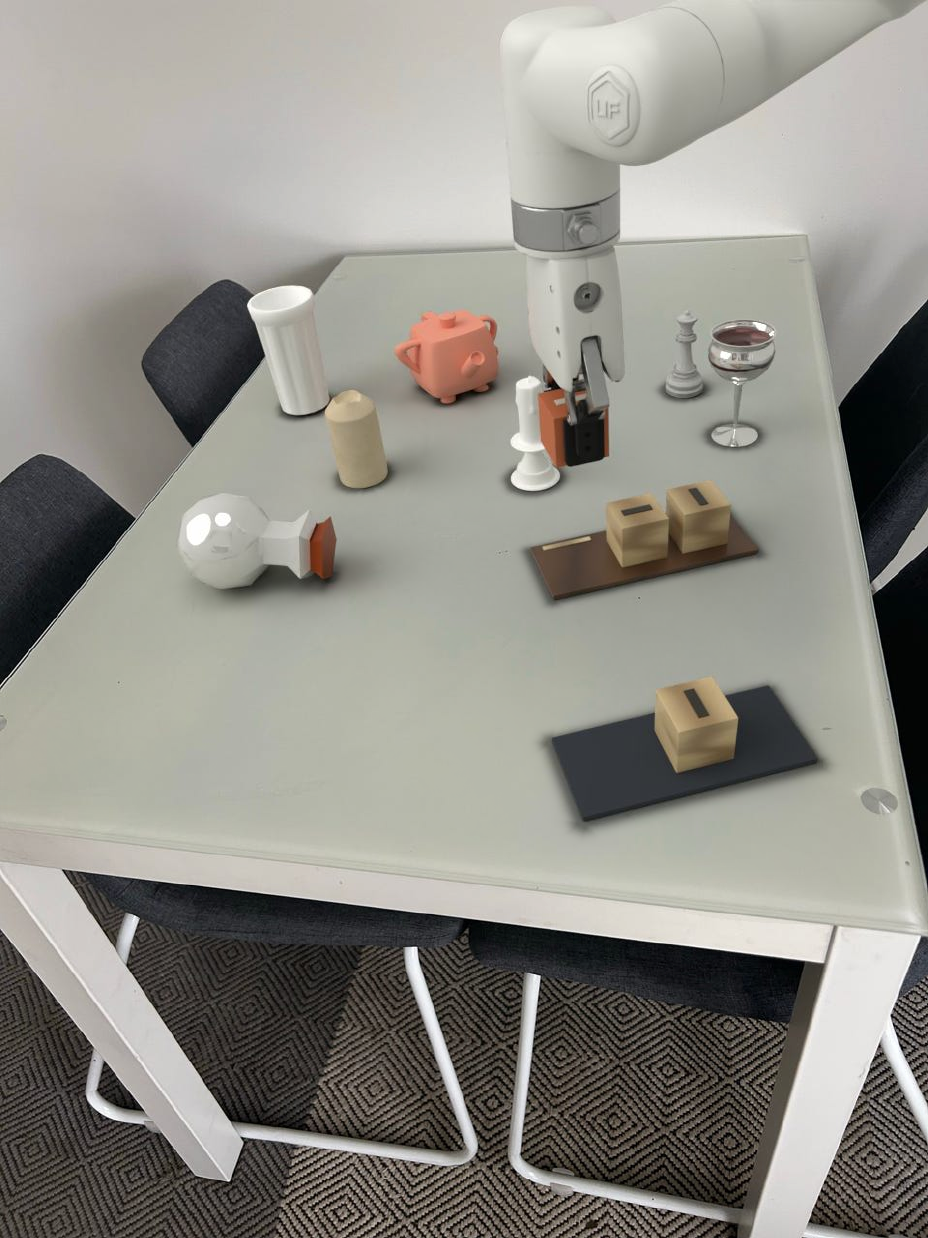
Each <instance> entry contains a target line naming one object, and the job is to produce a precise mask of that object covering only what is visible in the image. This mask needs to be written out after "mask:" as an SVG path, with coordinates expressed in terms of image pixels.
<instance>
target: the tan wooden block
mask: <svg viewBox="0 0 928 1238" xmlns="http://www.w3.org/2000/svg"><path fill="white" fill-rule="evenodd" d="M665 491H666V493H665V494H666V495H665V514H666V515H667V517H668V518H669V527H668V533H669V534H670V536H671V537H672V539H673V540H674V542H675V543H676V544H677V546H678V547H679V549H680V550H681V552H682V553H683V554H684V553H688V552H693V551H697V550H702V549H706V548H710V547H715V546H719V545H723V544H727V543H728V531H729V520H730V515H731V509H732V505H731V503H730V501H729V500H728V499H727V498H726V497H725V495H724V494H723V493H722V492H721V491H720V489H719V488H718V486H717V485H716V484H715V483H714V482H713V481H712V480H711V479H709V480H704V481H699V482H695V483H691V484H686V485H681V486H676V487H671V488H668V489H666V490H665Z"/></svg>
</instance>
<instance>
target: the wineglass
mask: <svg viewBox="0 0 928 1238" xmlns="http://www.w3.org/2000/svg"><path fill="white" fill-rule="evenodd" d="M777 335H778V332H777V329H776V327H774V325H772V324H771V323H769V322H766V321H764V320H763V321H762V320H759V319H751V318H737V319H731V320H725V321H724V322H720V323H718V324H716V325H714V326H712V328H711V330H710V331H709V336H710V338H711V342H710V344H709V345H708V350H707V352H708V354H707V356H708V357H707V359H708V362H709V364H710V367H711V368H712V369H713V371H714V372H715V373H716V374H717V375H718V376H720V377H721V378H722V379H724V380H725V381H729V382H731V383H732V385H734V397H733V398H734V399H733V423H728V424H723V425H720V426H717V427H716V428H715V429H713V430H712V432H711V438H712V440H713V441H714V442H715V443H716V444H719V445H721V446H724V447H731V448H740V447H745V446H746V447H747V446H749V445H751V444H753V443H754V442H755V441H757V439H758V437H759V436H758V435H759V434H758V432H757V430H756V429H755V428H753V427H752V426H748V425H746V424H739V423H738V421H739V415H740V409H741V408H740V407H741V398H742V393H743V385H745V384H746V383H747V382H751V381H753V380H756V379H757V378H758V377H760V376H761V375H762V374H764V373H766V371H768V370H769V368H770V366H771V365H772V363H773V361H774V359H775V356H776V345H775V342H774V340H775V338H776V336H777Z"/></svg>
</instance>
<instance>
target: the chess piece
mask: <svg viewBox="0 0 928 1238" xmlns="http://www.w3.org/2000/svg"><path fill="white" fill-rule="evenodd" d="M676 322H677V323H678V325H679V326H680V330H679V333H677V334H676V335H675V341H676V342H677V343H678V344H680V348H679V354H678V358H677V362H676V364H675V365H673V367H672V371H671V372H670V373H668V375H667V376H666V379H665V381H666V382H665V392H666V394H668V395H669V396H670V397H673V398H678V399H690V398H693V397H696V396H698V395H700V394H701V393H702V392H703V390H704V383H703V382H704V377H703V375H702V374H701V372H700V371H698V366H697V364H695V363H694V359H693V349H692V344H693V343H695V342H697V338H698V336H697V334H696V333H695V332H694V330H693V328H694V325H696V323H697V322H698V315H696V314H695V313H691V310H689V309H686V310H684V313H682V314H679V315H678V316H677V317H676Z"/></svg>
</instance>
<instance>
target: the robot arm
mask: <svg viewBox="0 0 928 1238" xmlns="http://www.w3.org/2000/svg"><path fill="white" fill-rule="evenodd" d="M925 2H927V0H675V1H671V2H670V3H667V4H663V5H662V6H659V7H656V8H653V9H651V10H650V11H647V12H644V13H641V14H639V15H636V16H632V17H630V18H627V19H625V20H621V21H618V22H617V20H616V19H615V18H614V16H613V14H611V13H610V12H609V11H608V10H607V9H604V8H601V7H598V6H593V5H567V6H557V7H556V6H555V7H550V8H544V9H540V10H535V11H530V12H527V13H525V14H521V15H519V16H518V17H516V18H515V19H513V20H511V21H510V22H509V23H508V24H507V25H506V26H505V28H504V29H503V32H502V35H501V38H500V43H499V61H500V62H499V63H500V73H501V74H500V75H501V76H500V77H501V87H502V90H501V91H502V100H503V115H504V129H505V140H506V141H505V143H506V155H507V156H506V157H507V167H508V179H509V191H510V192H509V195H510V208H511V221H512V236H513V246H514V249H516V251H517V252H518V253H520V254H521V255H525V278H526V279H525V281H526V282H525V283H526V301H527V304H526V305H527V317H528V327H529V335H530V340H531V344H532V347H533V349H534V352H535V353H536V354H537V356H538V358H539V359H540V361H541V362H542V382H543V386H544V388H545V389H546V390H543V392H548V391H553V390H557V389H564V395H565V404H566V413H567V420H563V435H564V456H565V462H566V464H567V466H566V467H570V468H571V467H577V466H581V465H586V464H590V463H591V464H592V463H595V462H599V461H602V460H603V459H605V458H606V457H605V434H604V419H605V409H607V408H608V407H609V408H610V397H609V392H608V387H607V382H606V378H605V377H606V376H607V378H608V379H609V380H610V381H611V383H613V382H615V383H620V382H622V380H623V379H624V377H625V373H626V372H625V370H626V369H625V366H626V365H625V343H624V342H625V341H624V340H625V339H624V323H623V321H624V320H623V306H622V292H621V291H622V290H621V283H620V273H619V265H618V259H617V255H616V254H617V253H616V249H615V245H616V244H617V243H618V242H619V241H620V239H621V165H622V166H626V167H640V166H646V165H650V164H653V163H656V162H660V161H661V160H663V159H665V158H667V157H669V156H671V155H673V154H675V153H677V152H679V151H680V150H682V149H684V148H687V147H688V146H690V145H692V144H693V143H695V142H696V141H698V140H699V139H701V138H703V137H705V136H707V135H710V134H711V133H714V132H715V131H717V130H719V129H721V128H723V127H725V126H727V125H729V124H731V123H733V122H735V121H737V120H738V119H740V118H741V117H744V116H746V115H747V114H749V113H750V112H752V111H753V110H755V109H757V108H758V107H759V106H761V105H762V104H764V103H766V102H767V101H769V100H771V99H772V98H773V97H775V96H776V95H777V94H779V93H780V92H782V91H783V90H785V89H787V88H788V87H790V86H792V85H793V84H794V83H796V82H797V81H799V80H800V79H802V78H803V77H805V76H807V75H808V74H809V73H811V72H813V71H814V70H816V69H817V68H819V67H821V66H822V65H823V64H825V63H827V62H828V61H830V60H832V58H834V57H836V56H838V54H840V53H842V52H843V51H845V50H846V49H848V48H849V47H851V46H852V45H854V44H855V43H857V42H858V41H860V40H861V39H862V38H865V36H867V35H868V34H869V33H871V32H873V31H875V30H876V29H878V28H879V27H881V26H883V25H885V24H887V23H889V22H891V21H892V22H893V21H895V20H898V19H901V18H903V17H905V16H906V15H908V14H909V13H911V12H912V11H913V10H915V9H916V8H917V7H919V6H920V5H922V4H924V3H925ZM581 375H582V376H583V379H580V376H581ZM605 375H606V376H605ZM585 390H586V397H585V399H582V400H579V402H578V404H577V405H576V399H575V392H580V391H585Z"/></svg>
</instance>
